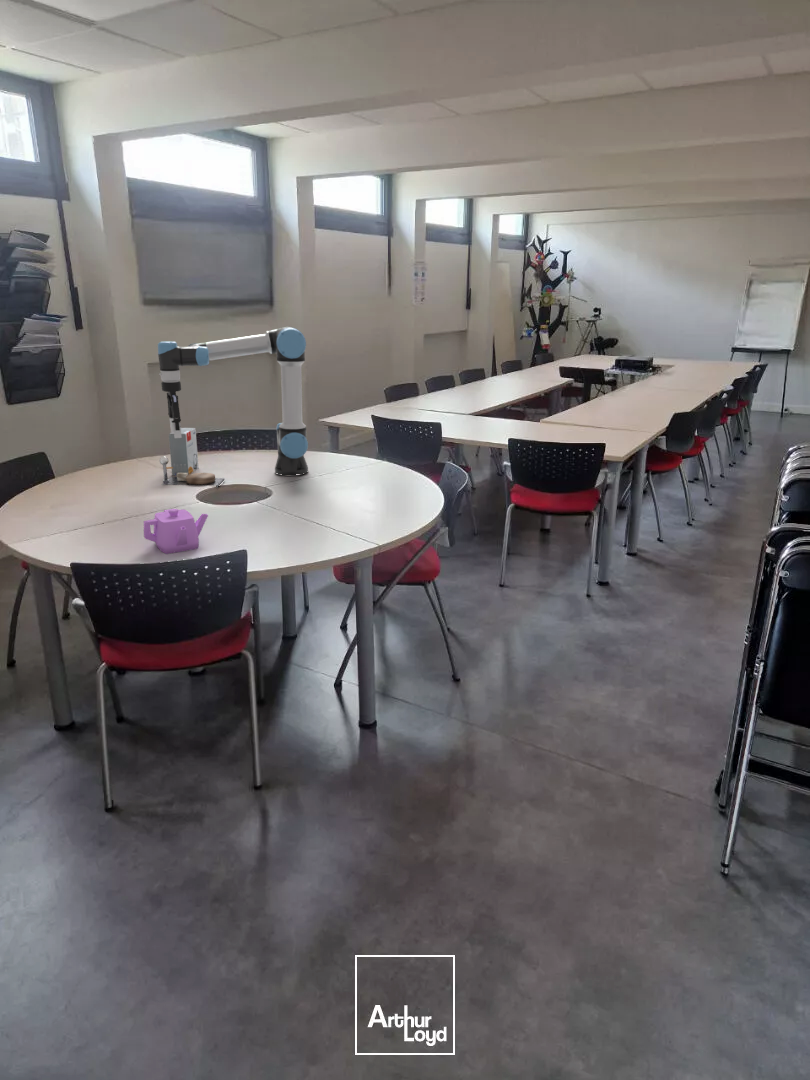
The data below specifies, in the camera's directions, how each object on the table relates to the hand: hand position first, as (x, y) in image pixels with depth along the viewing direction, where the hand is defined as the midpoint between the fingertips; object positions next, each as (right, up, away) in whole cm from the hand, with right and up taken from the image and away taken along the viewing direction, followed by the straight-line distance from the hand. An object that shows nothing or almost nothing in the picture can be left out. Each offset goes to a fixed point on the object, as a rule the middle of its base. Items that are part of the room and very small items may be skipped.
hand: (176, 435), depth 294 cm
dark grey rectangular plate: (+5, -20, +9) cm, 22 cm away
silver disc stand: (-7, -19, +7) cm, 21 cm away
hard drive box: (-4, -14, +26) cm, 30 cm away
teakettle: (+21, -46, -61) cm, 79 cm away
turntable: (+6, -18, +9) cm, 21 cm away
